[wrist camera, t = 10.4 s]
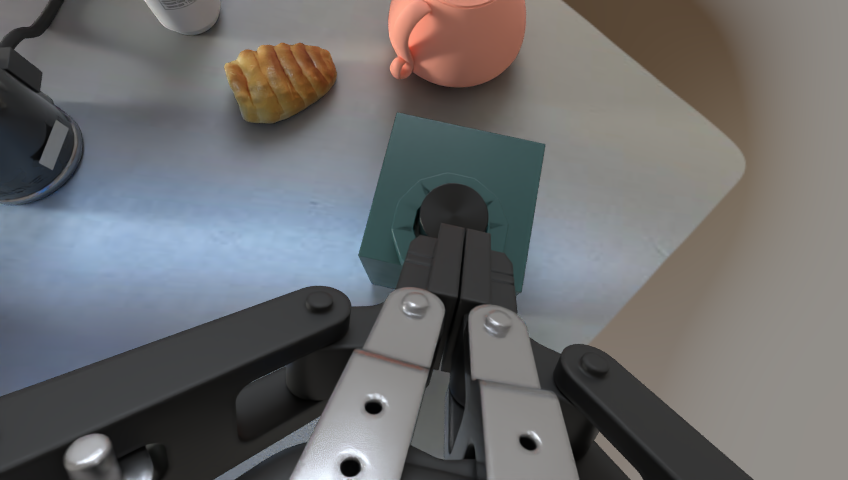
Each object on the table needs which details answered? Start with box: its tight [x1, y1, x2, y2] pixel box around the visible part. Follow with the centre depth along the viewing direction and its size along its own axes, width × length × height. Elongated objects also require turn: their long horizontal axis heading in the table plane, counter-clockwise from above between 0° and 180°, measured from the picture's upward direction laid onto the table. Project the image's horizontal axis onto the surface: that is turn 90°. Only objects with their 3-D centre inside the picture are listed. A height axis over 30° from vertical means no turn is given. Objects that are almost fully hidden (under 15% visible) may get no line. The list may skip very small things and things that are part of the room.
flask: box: [358, 112, 545, 295], centre depth 31 cm, size 11×10×12 cm
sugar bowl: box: [388, 0, 526, 87], centre depth 37 cm, size 12×14×10 cm
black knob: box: [419, 183, 489, 239], centre depth 24 cm, size 4×4×2 cm
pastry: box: [224, 43, 337, 123], centre depth 39 cm, size 9×7×4 cm
